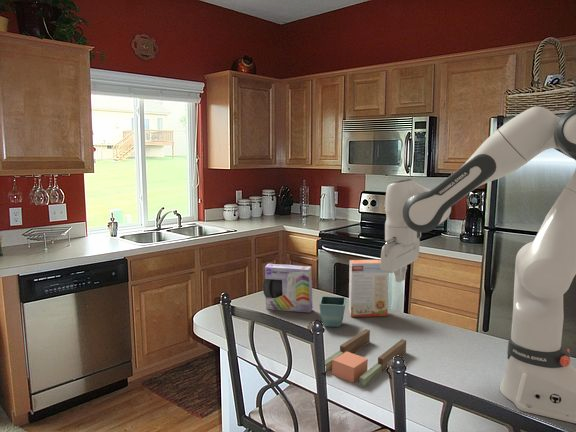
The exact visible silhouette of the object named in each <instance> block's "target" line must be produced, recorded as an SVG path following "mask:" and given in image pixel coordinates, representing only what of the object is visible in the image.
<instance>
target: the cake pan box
mask: <svg viewBox="0 0 576 432" xmlns="http://www.w3.org/2000/svg"><path fill="white" fill-rule="evenodd" d="M312 271H313V270H312V266H308V265H307V266H306V265H296V264H282V263H281V264H277V263H276V264H275V263H267V264H266V265H265V266H264V280H263V283H262V291H263V295H264V297H265V309H266V310H273V311H275V310H276V311H287V312H295V313H296V312H298V313H311V312H312V311H313V309H314V308H313V307H314V306H313V277H312V276H313V275H312Z"/></svg>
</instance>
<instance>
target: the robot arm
mask: <svg viewBox="0 0 576 432" xmlns="http://www.w3.org/2000/svg"><path fill="white" fill-rule="evenodd" d="M550 149H553V150H556V151H557V152H559V153H562V154H563V155H565V156H566V157H568V158H570V159H573V160H574V161H576V108H572V109H570V110H569V111H567V112H566V113H564V114H563V115H562V116H561V117H559V116H557V115H555V113H553V112H552V111H551V110H550V109H548V108H546V107H543V106H539V105H538V106H532V107H529V108H528V109H526V110H524V111H522V112H520V113H519V114H517V115H515V116H514V117H512V118H511V119H510V120H508V121H507V122H505V123H504V124H503V125H501V126H500V127H499V128H498V129H496V130H495V131H494V132H492V133H491V135H489V137H487V138H486V139H485V140H484V141H483V142H482V143H481V144H480V145H479V147H477V149H476V150H475V151H474V152H473V153H472V155H471V156H470V157H469V158H467V160H466V161H465V163H464V164H463V165H461V166H460V167H459V168H458V169H457V170H456V171H454V172H452V174H450V175H449V176H448V177H446V178H445V179H444V180H442V181H441V182H440V183H439V184H438V185H436V186H435V187H433V188H432V189H430V188H427V187H425V186H423V185H421V184H419V182H416V181H415V180H414V179H411V178H406V179H401V180H396V181H392V182H390V183H389V184H388V185H387V187H386V192H385V199H384V201H385V202H384V210H385V211H384V212H385V216H386V217H385V219H386V220H385V222H384V241H385V244H384V245H383V246H382V248H381V251H380V252H381V253H380V260H381V262H380V268H381V271H382V272H386V273H389V274H393V275H394V277H395V278H394V279H395V282H396V283H401V282H403V281H405V280H406V273H407V270H408V265H411V264H412V263H413V262H416V261H418V259H419V255H420V246H421V245H420V244H421V242H420V241H421V237H422V233H429V232H431V231H433V230H434V229H436V228H437V226H439V225H440V224H442V223H444V222H445V221H446V220H447V219H448V218H449V217H450V215H451V213H452V207H453V206H454V205H455V204H457V203H458V202H459V201H460V200H462V199H463V198H465V196H467V195H469V193H471V192H473V191H474V190H475V189H477V188H479V187H480V186H484V185H485V184H487V183H490V182H492V181H496V180H498V179H501V178H504V177H506V176H508V175H510V174H512V173H513V172H516V170H518V169H520V168H521V167H523V166H525V165H527V163H528V162H531V160H533V159H534V158H535V157H537V156H538V155H539V154H541V153H543V152H545V151H547V150H550ZM575 276H576V169H574V172H573V174H572V176H571V177H570V179H569V180H568V182H567V183H566V185H565V187H564V188H563V189H562V191H561V193H560V194H559V196H558V197H557V199H556V200H555V202H554V203H553V205H552V206H551V208H550V210H549V211H548V212H547V214H546V215H545V217H544V220H543V222H542V224H541V226H540V228H539V229H538V232H537V233H536V236H535V237H534V240H533V241H530V242H528V243H526V244H525V245H523V246H522V247H521V248H520V249H519V250H518V251H517V253H516V257H515V266H514V280H513V281H514V282H513V283H514V284H513V285H514V286H513V304H512V306H513V307H512V318H511V331H510V336H509V338H508V341H507V350H506V354H507V355H506V356H507V363H506V367H505V372H504V375H503V378H502V381H501V382H500V385H499V391H500V392H501V394H502V395H503V396H504V397H505V398H506V399H508V400H509V401H511V403H513V404H514V406H516V408H517V409H519V411H522V412H525V413H530V414H534V415H539V416H542V417H545V418H551V419H555V420H559V421H564V422H568V423H572V424H576V368H575V366H573V365H572V364H571V353H570V348H567V349H565V348H564V346H562V337H563V328H564V327H563V326H564V320H565V318H564V314H565V313H564V294H565V293H567V291H568V290H569V289H570V286H571V284H572V282H573V280H574V278H575Z"/></svg>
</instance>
